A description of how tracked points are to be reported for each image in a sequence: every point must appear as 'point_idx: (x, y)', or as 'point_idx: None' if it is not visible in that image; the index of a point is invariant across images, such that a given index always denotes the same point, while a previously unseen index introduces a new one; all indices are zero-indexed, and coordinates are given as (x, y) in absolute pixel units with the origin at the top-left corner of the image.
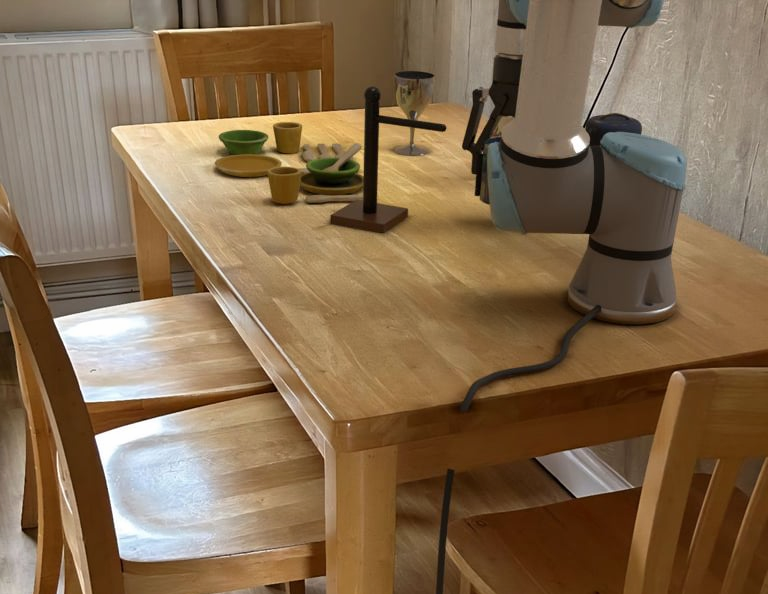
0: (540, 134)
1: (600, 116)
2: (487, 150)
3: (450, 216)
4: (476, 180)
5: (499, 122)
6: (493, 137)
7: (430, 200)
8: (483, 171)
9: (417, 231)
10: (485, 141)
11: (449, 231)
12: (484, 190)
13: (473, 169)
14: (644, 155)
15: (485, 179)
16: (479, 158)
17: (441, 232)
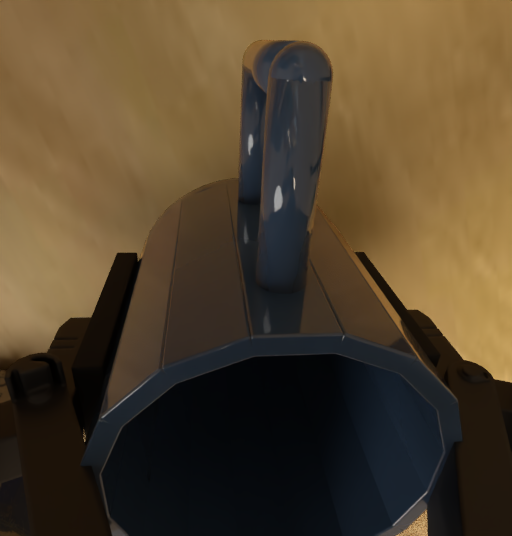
0: None
1: None
2: (404, 333)
3: (411, 243)
4: (383, 283)
5: None
6: (408, 515)
7: (483, 336)
8: (368, 274)
9: (502, 35)
10: (451, 424)
11: (390, 96)
12: (324, 218)
13: (422, 322)
14: None
15: (339, 239)
16: (424, 349)
17: (415, 70)
